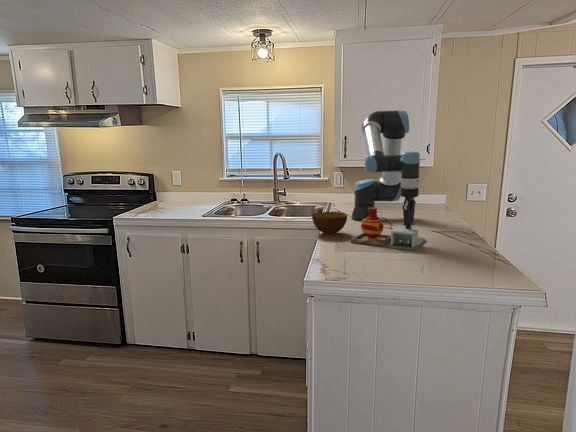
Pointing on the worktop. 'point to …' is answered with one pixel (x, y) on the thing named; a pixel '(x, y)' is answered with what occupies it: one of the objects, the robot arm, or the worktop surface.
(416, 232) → the block
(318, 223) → the bowl
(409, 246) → the stub plate
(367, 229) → the potion bottle
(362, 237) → the tray
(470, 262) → the worktop surface
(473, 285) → the worktop surface
